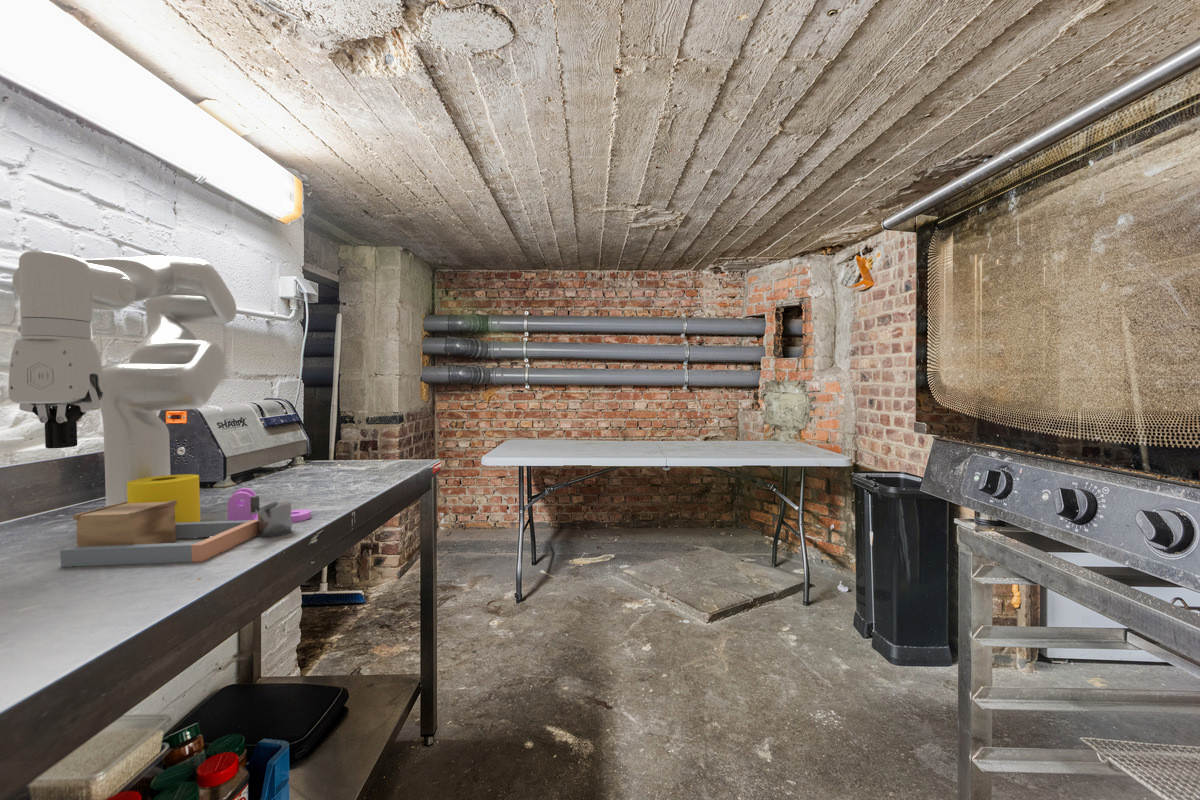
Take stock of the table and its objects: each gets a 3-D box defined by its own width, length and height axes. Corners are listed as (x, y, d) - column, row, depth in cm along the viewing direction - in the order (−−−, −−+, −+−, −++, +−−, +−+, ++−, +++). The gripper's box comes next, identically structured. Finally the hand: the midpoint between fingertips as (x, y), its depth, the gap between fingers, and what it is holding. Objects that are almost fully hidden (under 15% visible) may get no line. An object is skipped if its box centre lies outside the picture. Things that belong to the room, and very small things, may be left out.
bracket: (228, 531, 87) (227, 494, 87) (232, 524, 92) (231, 489, 92) (310, 521, 94) (309, 486, 94) (311, 514, 99) (310, 481, 98)
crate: (125, 543, 81) (123, 501, 80) (177, 541, 81) (176, 500, 81) (74, 561, 72) (73, 514, 72) (134, 559, 73) (132, 512, 73)
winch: (269, 529, 88) (268, 487, 87) (297, 528, 88) (296, 486, 88) (237, 544, 79) (236, 498, 79) (269, 543, 80) (268, 497, 79)
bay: (143, 537, 83) (143, 523, 83) (260, 533, 85) (260, 519, 85) (60, 567, 69) (60, 550, 69) (202, 561, 71) (202, 544, 71)
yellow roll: (203, 518, 96) (202, 472, 96) (196, 530, 88) (195, 479, 88) (135, 526, 91) (134, 478, 90) (121, 540, 82) (120, 486, 82)
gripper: (-23, 329, 71) (-19, 451, 71) (85, 329, 72) (89, 449, 72) (32, 335, 78) (36, 445, 79) (130, 335, 80) (133, 443, 80)
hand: (61, 447), depth 76 cm, fingers closed
